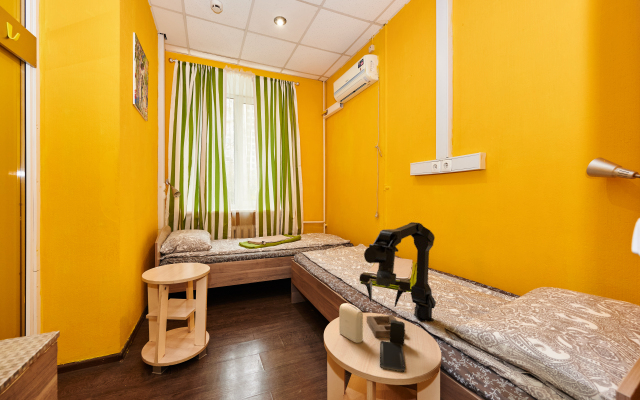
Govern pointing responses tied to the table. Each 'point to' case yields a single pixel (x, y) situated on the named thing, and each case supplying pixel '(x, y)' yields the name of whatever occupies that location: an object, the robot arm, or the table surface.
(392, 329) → the ink cartridge
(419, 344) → the table surface
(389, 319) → the slot board
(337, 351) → the table surface
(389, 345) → the phone
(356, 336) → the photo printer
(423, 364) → the table surface
